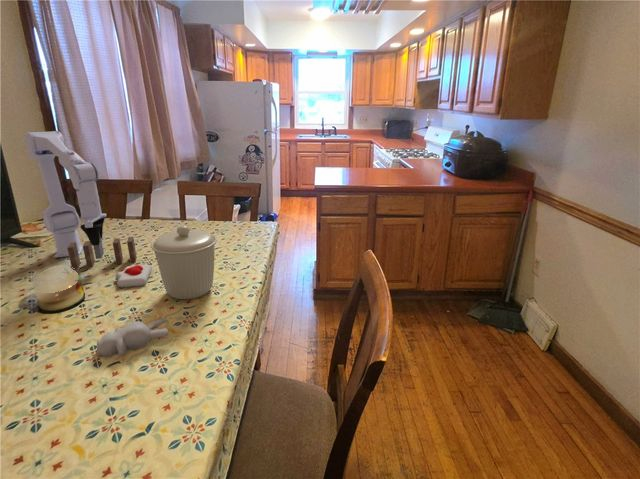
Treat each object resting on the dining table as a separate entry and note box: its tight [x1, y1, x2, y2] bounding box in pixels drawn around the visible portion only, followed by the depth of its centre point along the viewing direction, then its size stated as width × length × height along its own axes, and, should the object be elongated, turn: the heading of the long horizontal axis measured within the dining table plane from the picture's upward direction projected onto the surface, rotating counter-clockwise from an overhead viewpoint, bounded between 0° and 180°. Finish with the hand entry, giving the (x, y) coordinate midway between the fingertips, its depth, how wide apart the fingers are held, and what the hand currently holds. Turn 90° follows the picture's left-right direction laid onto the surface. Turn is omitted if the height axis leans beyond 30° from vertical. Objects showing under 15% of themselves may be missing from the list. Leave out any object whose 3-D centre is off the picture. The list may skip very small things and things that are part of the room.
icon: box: [115, 264, 153, 288], centre depth 123 cm, size 12×4×10 cm
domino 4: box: [126, 236, 137, 264], centre depth 136 cm, size 2×5×8 cm, turn 20°
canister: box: [150, 224, 218, 301], centre depth 112 cm, size 18×18×21 cm
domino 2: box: [82, 240, 96, 269], centre depth 132 cm, size 2×5×8 cm, turn 21°
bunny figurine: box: [96, 317, 170, 358], centre depth 90 cm, size 10×5×15 cm
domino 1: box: [67, 242, 81, 270], centre depth 130 cm, size 2×5×8 cm, turn 21°
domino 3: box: [112, 237, 124, 265], centre depth 135 cm, size 2×5×8 cm, turn 20°
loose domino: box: [92, 236, 105, 260], centre depth 126 cm, size 2×5×8 cm, turn 21°
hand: (97, 242), depth 125 cm, fingers closed on loose domino, 5 cm apart
